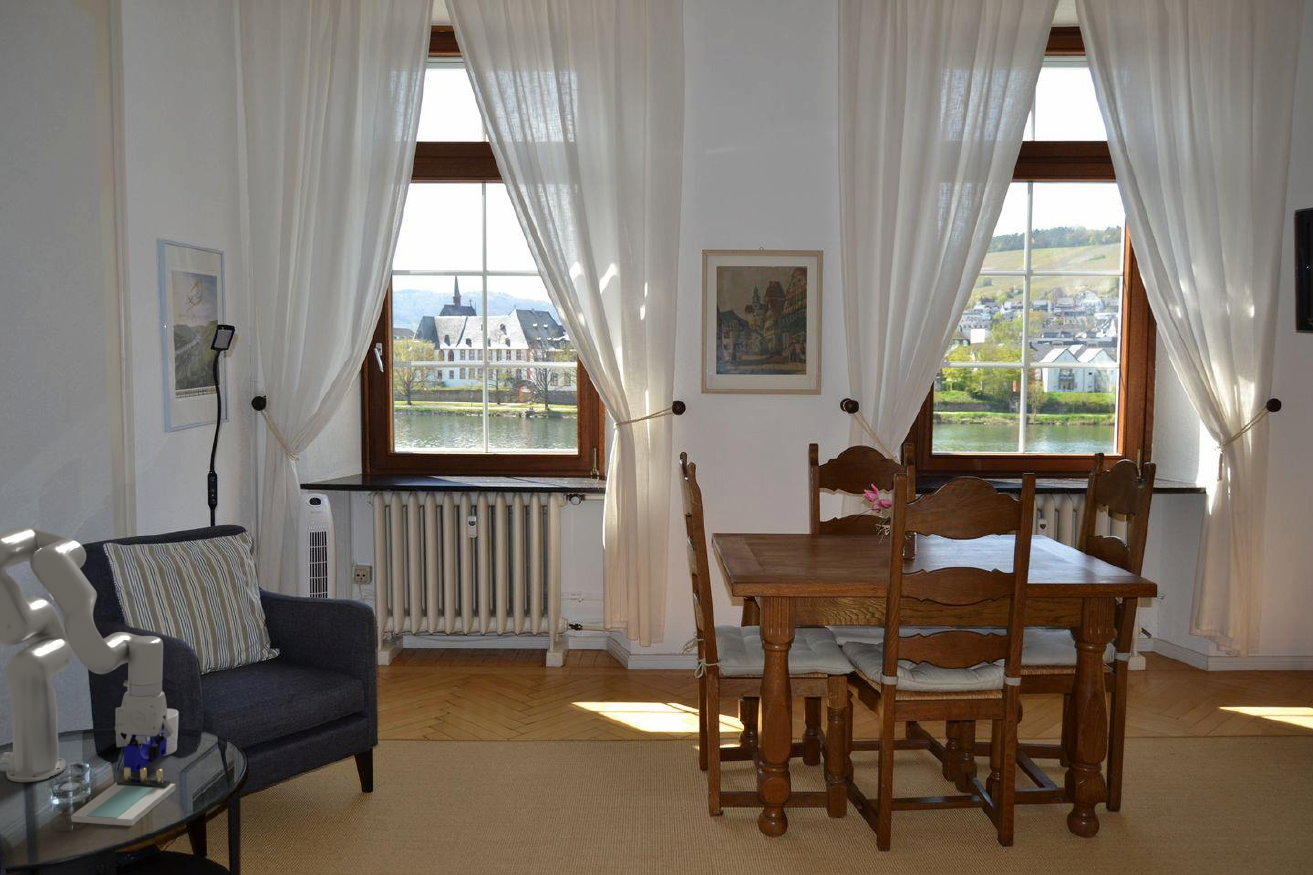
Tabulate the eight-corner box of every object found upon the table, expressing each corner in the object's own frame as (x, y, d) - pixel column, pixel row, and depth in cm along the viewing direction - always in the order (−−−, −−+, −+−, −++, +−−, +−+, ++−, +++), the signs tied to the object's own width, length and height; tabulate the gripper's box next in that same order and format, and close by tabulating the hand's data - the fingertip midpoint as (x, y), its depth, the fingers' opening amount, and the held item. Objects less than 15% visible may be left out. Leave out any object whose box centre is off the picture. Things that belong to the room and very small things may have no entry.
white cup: (162, 759, 264) (162, 721, 263) (138, 754, 267) (137, 717, 266) (186, 747, 272) (185, 711, 271) (162, 743, 274) (161, 706, 273)
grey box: (145, 742, 274) (144, 706, 273) (116, 747, 271) (115, 710, 270) (144, 737, 277) (143, 701, 276) (116, 742, 274) (115, 705, 273)
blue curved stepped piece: (149, 750, 262) (150, 728, 261) (166, 753, 261) (167, 730, 261) (117, 770, 250) (118, 746, 249) (134, 773, 249) (135, 749, 249)
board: (71, 821, 231) (71, 814, 231) (119, 786, 249) (119, 779, 249) (131, 825, 230) (131, 818, 230) (175, 789, 248) (175, 782, 248)
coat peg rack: (117, 784, 246) (116, 768, 246) (122, 781, 248) (121, 765, 248) (165, 788, 245) (165, 771, 245) (170, 784, 247) (169, 768, 247)
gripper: (102, 689, 251) (101, 761, 253) (170, 696, 249) (168, 768, 251) (121, 678, 258) (119, 749, 260) (186, 685, 257) (184, 756, 259)
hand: (143, 758), depth 256 cm, fingers closed on blue curved stepped piece, 4 cm apart
